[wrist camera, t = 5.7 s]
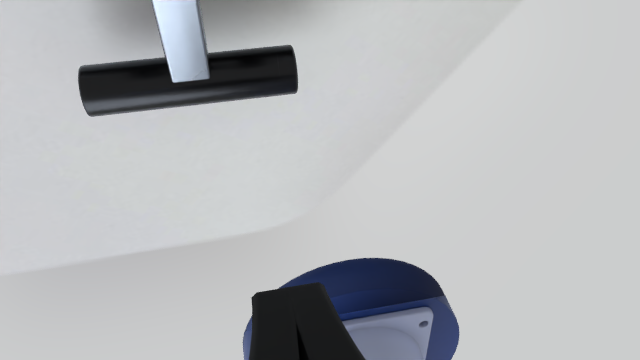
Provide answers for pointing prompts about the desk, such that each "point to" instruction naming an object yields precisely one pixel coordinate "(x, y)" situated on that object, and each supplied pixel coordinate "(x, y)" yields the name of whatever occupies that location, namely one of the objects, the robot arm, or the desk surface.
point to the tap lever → (186, 70)
